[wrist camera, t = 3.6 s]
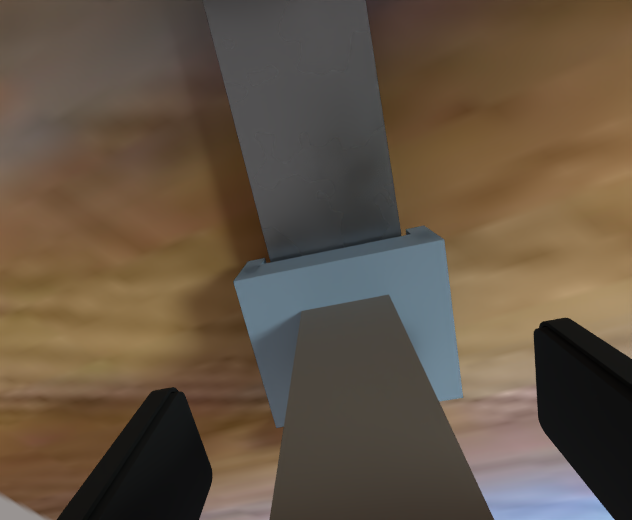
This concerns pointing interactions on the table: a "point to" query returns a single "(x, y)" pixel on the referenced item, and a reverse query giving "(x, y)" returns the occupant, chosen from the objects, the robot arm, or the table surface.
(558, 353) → the robot arm
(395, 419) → the carriage
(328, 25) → the rail
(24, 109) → the table surface
